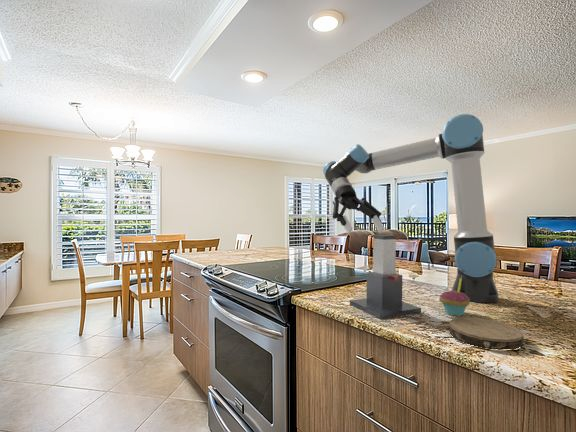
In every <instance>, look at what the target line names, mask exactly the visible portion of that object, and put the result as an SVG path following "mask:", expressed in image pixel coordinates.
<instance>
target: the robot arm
mask: <svg viewBox="0 0 576 432" xmlns="http://www.w3.org/2000/svg"><path fill="white" fill-rule="evenodd" d="M483 132H484V126H483V124H482V121H481V120H480V119H479V118H478V117H477V116H475V115H473V114H469V113H462V114H457V115H455V116H453V117H451V118H450V119H448V121H447V122H446V123H445V124H444V126H443V129H442V133H439V134H437V136H436V137H433V138H429V139H426V140H425V139H424V140H420V141H416V142H412V143H409V144H404V145H399V146H395V147H391V148H386V149H382V150H378V151H374V152H369V153H368V151H367V150H366V149H365V148H364V147H363V146H362V145H361V144H355V145H354V146H353V147H352V148H350V149H349V150H348V151H346V153H345V154H343V156H342V157H341V158H340V159H339V160H338V161H335V160H332V161H330V162H327V163H326V164H325V165H324V166H323V169H322V172H323V175H324V177H325V180H327V183H328V185H329V186H330V188H331V190H332V192H333V194H334V196H335V197H334V198H333V200H332V204H333V209H332V219H334V220H336V222H340V224H341V226H343V227H344V229H345V232H346V233H347V235H350V234H351V232H352V231H353V229H354V228H353V226H352V225H351V223H350V221H349V219H348V217H347V215H346V214H345V212H346V210H356V211H357V212H361V213H362V214H364V215H366V216H367V217H369V218H370V219H372V220H371V222H372V223H373V225H374V227H375V228H376V229H377V232H378V233H379V234H382V233H383V232H384V230H385V226H384V224H383V222H382V220H381V218H380V217H381V216H382V213H381V212H380V211H379V210H378V209H377V208H376V207H374V206H373V204H371V203H370V202H369V201H368V200H366V198H365V197H362V198H361V199H359V198H358V197H357V192H356V190H355V188H354V187H353V185H352V184H351V182H350V180H349V178H348V177H349V176H350V175H352V174H353V173H354V172H355V171H356V172H358V173H360V174H369V173H371V172H372V171H376V170H380V169H386V168H390V167H391V168H392V167H395V166H396V167H397V166H400V165H406V164H411V163H416V162H420V161H425V160H430V159H434V158H440V159H445V160H446V161H448V162H449V163H450V164H451V174H452V183H453V194H454V195H453V196H454V205H455V214H456V215H455V216H456V224H457V232H456V234H454V236H453V243H454V263H455V265H456V269H457V270H456V272H457V273H456V277H455V280H454V283H453V285H452V289H451V291H458V285H459V279H460V278H461V276H462V282H461V287H460V292H462V293H464V294H466V295H467V296H468V297H469V298H470V302H473V303H485V304H486V303H488V304H489V303H490V304H491V303H496V302H499V299H500V298H499V292H498V289H497V285H496V282H495V280H494V270H495V268H496V266H497V264H498V257H497V254H496V251H495V243H494V242H495V240H494V234H493V233H492V232H490V231H489V230H488V227H487V217H486V216H487V215H486V207H485V196H484V187H483V179H482V168H481V158H482V156H484V154H485V146H484V144H485V143H484V137H483V135H484V134H483ZM340 205H342V206H343V207H342V208H341V210H340V213H339V209H340V207H339V206H340Z"/></svg>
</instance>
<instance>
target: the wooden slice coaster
mask: <svg viewBox="0 0 576 432" xmlns="http://www.w3.org/2000/svg"><path fill="white" fill-rule="evenodd" d="M450 334H451V335H452V336H453V337H454V338H456V339H457V340H456V339H455V340H456V341H458V340H459V341H461V342H460V343H462V342H464V343H467V344H470V345H474V346H478V347H482V348H489V349H516V348H519V347H522V346H523V347H524V333H523V331H522V330H520V328H517V327H516V326H514V325H511V324H508V323H505V322H501V321H498V320H494V319H490V318H482V317H473V316H472V317H470V316H465V317H462V316H459V317H455V318H452V319H450V320H449V335H450ZM451 335H450V336H451ZM452 336H451V337H452ZM453 337H452V338H453ZM454 338H453V339H454ZM459 341H458V342H459ZM464 343H463V344H464ZM467 344H466V345H467ZM470 345H469V346H470ZM523 347H522V348H523Z"/></svg>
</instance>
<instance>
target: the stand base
mask: <svg viewBox="0 0 576 432" xmlns="http://www.w3.org/2000/svg"><path fill="white" fill-rule="evenodd" d="M349 306H352V307H354V308H356V309H357V310H361V311H362V312H365V313H366V314H367V315H368V314H369V315H371V316H373V317H374V318H377V319H379V318H380V319H379V320H381V319H382V318H383V319H387V318H389V317H390V318H394V317H403V316H408V315H414V314H420V313H422V308H421V307H420V306H417V305H414V304H411V303H408V302H405V301H403V274H400V273H397V272H396V273H395V275H388V276H381V275H378V274H374V273H373V271H370V272H366V298H360V299H357V298H356V299H351V300H349Z"/></svg>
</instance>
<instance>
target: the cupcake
mask: <svg viewBox="0 0 576 432" xmlns="http://www.w3.org/2000/svg"><path fill="white" fill-rule="evenodd" d="M461 282H462V276H461V278H460V279H459V285H458V291H452V290H447V291H445V292H442V293H441V294H440V295H439V298H438V301H439V302H441V303H442V305H443V306H444V310H445V313H446V314H447V315H449V314H450V316H453V315H456V316H455V317H462V316H463V315H464V313H465V311H466V308H467V306H469V305H471V301H470V298H469V297H468V296H467V295H466V294H464V293H462V292H460V287H461ZM461 315H462V316H461Z"/></svg>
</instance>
